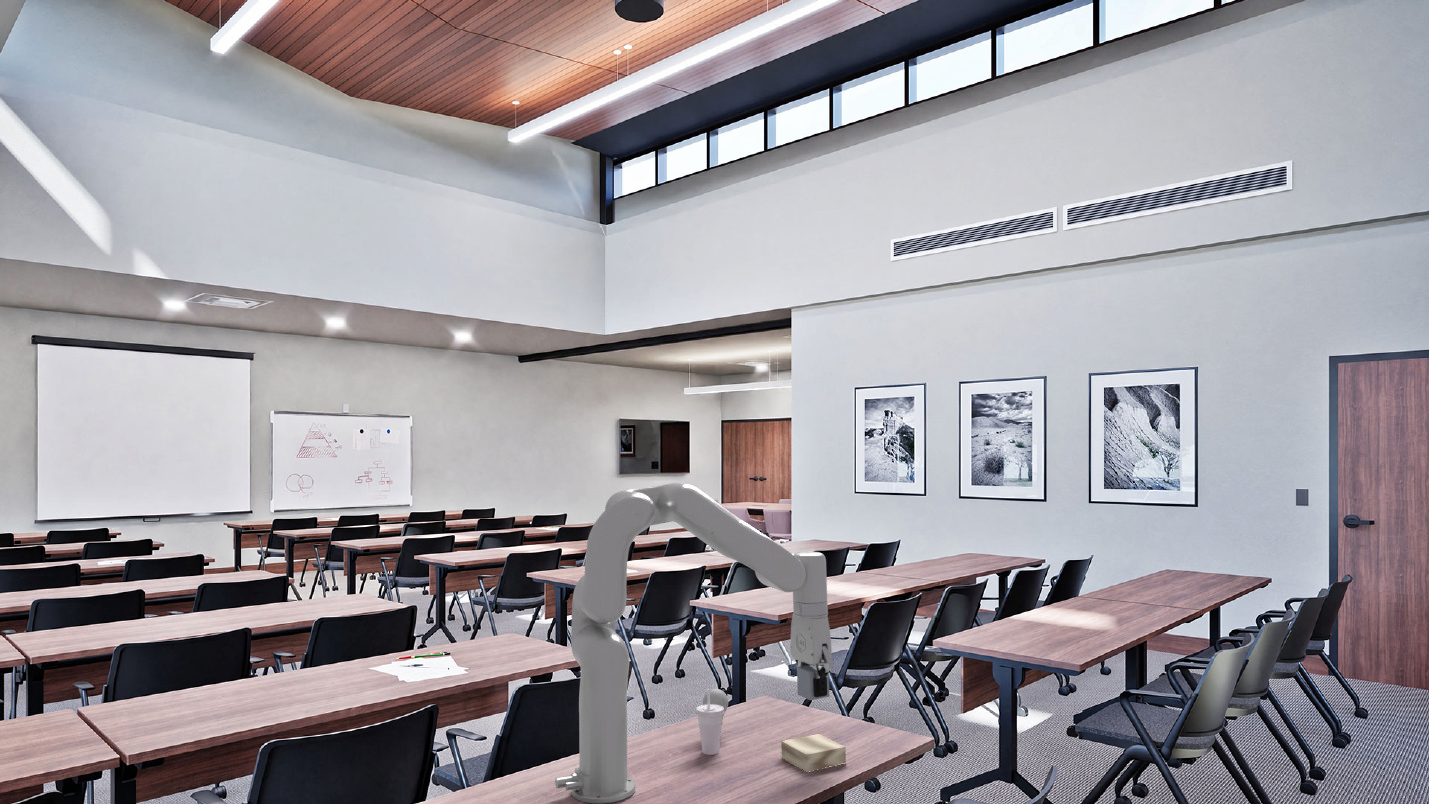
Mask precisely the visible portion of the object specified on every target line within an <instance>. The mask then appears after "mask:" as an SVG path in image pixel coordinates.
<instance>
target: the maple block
mask: <svg viewBox="0 0 1429 804" xmlns="http://www.w3.org/2000/svg"><path fill="white" fill-rule="evenodd" d="M780 742H781V744H780V745H781V759H783V760H784V759H785V760H784V761H786V760H787V762H788V763H789V764H791V763H792V765H793V766H795V767H796V766H797V768H798V767H799V768H798V769H800V770H802V769H803V770H804V771H803V770H802V771H803V772H805V771H806V772H805V773H807V772H808V773H810V772H809V771H812V772H814V771H813V770H817V769H821V770H823V769H822V768H825V767H829V766H835V765H838V764H841V763H846V764H847V761H846V760H847V759H846V758H847V757H846V746H845V745H843V744H840V743H839V742H837V741H835V740H832V739H831V738H829V737H826V736H824V735H823V734H821V733H816V734H811V735H806V736H802V737H801V736H800V737H796V738H790V739H785V740H782V741H780ZM835 767H836V766H835ZM817 771H818V770H817Z"/></svg>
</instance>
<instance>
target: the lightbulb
mask: <svg viewBox="0 0 1429 804" xmlns="http://www.w3.org/2000/svg"><path fill="white" fill-rule="evenodd" d="M707 704H708V696H707V692H706V693H705V694H704V696H703V698H702V705H707ZM710 704H715V705H720V706H722V707H723V708H724V714H723V715H722V722H724V721H723V720H724V716H725V714H726V711H727V708H728V707H729V697H728V695H727V694H726V692H724V691H723V690H721V689H719V688H710Z"/></svg>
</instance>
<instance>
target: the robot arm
mask: <svg viewBox="0 0 1429 804" xmlns="http://www.w3.org/2000/svg"><path fill="white" fill-rule="evenodd" d="M604 508H605V509H604V511H603V512H602V513H601V514H600V515H599V517H598V518H597V520H596V521H595V522H594V524H593V525H592V528H591V529H590V532H589V535H588V538H587V541H586V542H587V543H586V548H585V549H586V550H585V561H584V562H585V563H584V575H582V577H580V579H579V580H578V581H577V583H576V584H575V587H574V590H573V593H572V594H573V595H572V602H571V603H572V605H571V606H572V607H571V633H570V634H571V637H570V640H571V641H570V644H571V652H572V656H573V658H574V660H575V661H576V662H577V664H578V665H579V666H580V667H579V668H580V679H579V696H578V700H579V701H578V712H579V713H578V714H579V715H578V716H579V717H578V718H579V719H578V720H579V721H578V723H579V725H578V726H579V728H578V729H579V732H578V733H579V736H578V737H579V743H578V744H579V747H578V748H579V749H578V750H579V755H578V756H579V767H575V768H574V773H571V774H570V775H569V776H561V777H556V778H555V783H554V784H555V788H556V789H562V788H565V790H566V791H571V796H572V797H573V798H574V799H576V800H577V801H580V802H582V803H588V804H611V803H615V802H619V801H622V800H625V799H628V798H629V797H631V796H632V795H633V794H634V792H635V791H636V782H635V781H634V780H633V779H632V778H630V777H628V683H629V682H628V678H629V671H630V654H629V650H628V645H627V644H626V643H625V641H624V639H623V638H622V637H621V635H619V634H617V633H616V629H617V627H616V626H617V625H616V624H617V621H618V620H620V618H621V617H622V616H623V614H624V612H625V610H626V607H627V598H628V597H627V581H628V579H627V578H628V577H627V576H628V575H627V574H628V572H627V571H628V558H629V552H630V546H631V544H632V543H633V541H634V539H635V538H636V537H637V536H638V535H639V534H641V533H642V532H644V531H645V530H647V529H648V528H649V527H651V526H656V525H661V524H667V523H670V522H672V523H676V524H678V525H680V526H681V527H682V528H683V529H685V530H686V531H688V532H689V533H691V534H692V535H693V536H695V537H696V538H698V540H700V541H702V542H703V543H705V544H706V545H707V546H708V547H710V548H711V549H713V550H714V551H715V552H717V553H719V554H721V555H722V556H724V557H726V558H728V559H731V560H733V561H736V562H739V563H740V564H743V565H744V566H746V567H748V568H750V569H751V570H753V571H754V573H755V577H756V578H757V579H758V581H759V582H760V583H761V584H762V585H764V586H767V587H769V588H772V589H776V590H779V591H781V592H784V593H792V602H793V603H792V605H793V607H792V608H793V611H792V612H793V613H792V616H791V625H790V644H789V646H790V648H789V649H790V656H791V657H792V659H794V660H795V664H796V668H797V667H800V666H806V665H813V668H814V674H815V678H813V685H814V697H822V696H826V695H827V677H828V673H829V674H830V672H831V670H832V669H833V668H834V666H835V665H834V662H833V660H832V653H833V652H832V639H831V629H830V622H829V617H828V615H829V609H828V587H827V586H828V583H827V582H828V580H827V578H828V577H827V559H826V556H825V555H824V553H821V552H819V551H800V552H796V553H792V552H790V551H789V550H787V549H786V548H785V547H784V546H782V545H780V544H779V543H778V542H776V541H775V540H773V539H771V538H770V537H768V536H767V535H765V534H764V533H762V532H760V531H759V530H757V529H756V528H755V527H753V526H751V524H748V522H746V521H744V520H743V519H741V518H740V517H738V516H736V515H735V514H734V513H732V512H731V511H729V510H728V509H727V508H725V507H724V506H723V505H721V504H720V503H718V502H717V501H716V500H715V499H713V498H712V497H711V496H709V495H708V494H707V493H705V492H703V490H701V489H700V488H698V487H696V486H695V485H693V484H690V483H680V482H674V483H673V482H672V483H666V484H661V485H655V486H654V485H652V486H647V487H641V488H634V489H633V488H632V489H626V490H619V491H617V492H616V493H615V492H614V493H613V494H612V495H611V496H610V497H609V498H608V499H607V501H606V503H605V507H604ZM818 666H822V667H821V669H820V670H819V668H818Z"/></svg>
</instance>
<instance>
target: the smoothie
mask: <svg viewBox="0 0 1429 804" xmlns="http://www.w3.org/2000/svg"><path fill="white" fill-rule="evenodd" d="M710 690H711V688H707V690H706V691H707V692H706V693H707V696H708V704H707V705H703V704H701V705H698V706H697V707H696V708H695V713H696V715H697V720H698V727H699V737H700V743H701V752H702V754H704V755H707V756H712V755H717V754H719V751H720V744H721V735H722V726H723V721H722V715H723V714H724V715H725V713H724V708H723V707H722V706H720V705H715V704H710Z"/></svg>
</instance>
